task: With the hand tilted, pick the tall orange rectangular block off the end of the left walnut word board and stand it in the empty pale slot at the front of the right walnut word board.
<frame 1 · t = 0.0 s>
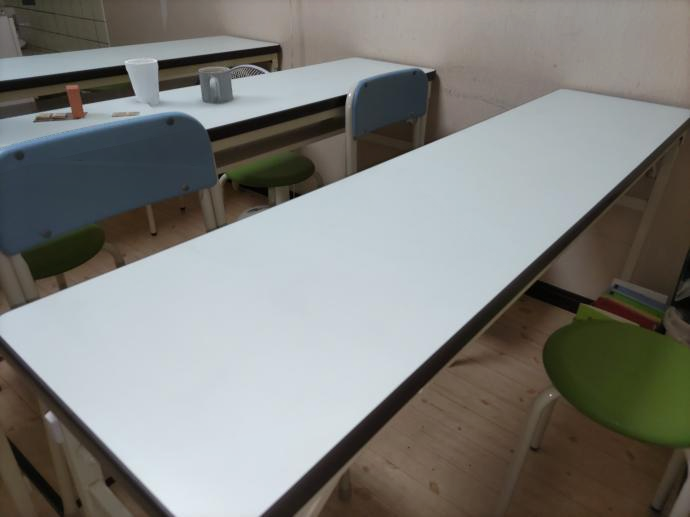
hand: (35, 2, 127), 30 cm above the table, tool pointing down, fingers open, 13 cm apart
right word: (118, 119, 148), on the table
foam cup: (149, 104, 163), on the table
orange rectangular block: (78, 115, 146), point 1 cm above the table, touching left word
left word: (62, 119, 145), on the table
coffee mug: (216, 103, 168), on the table
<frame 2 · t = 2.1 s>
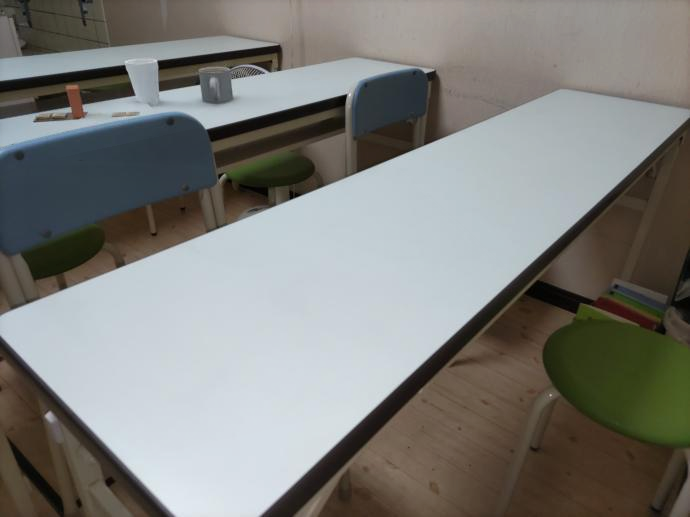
hand: (57, 23, 141), 24 cm above the table, tool tilted 45°, fingers open, 13 cm apart
nothing on the table moved.
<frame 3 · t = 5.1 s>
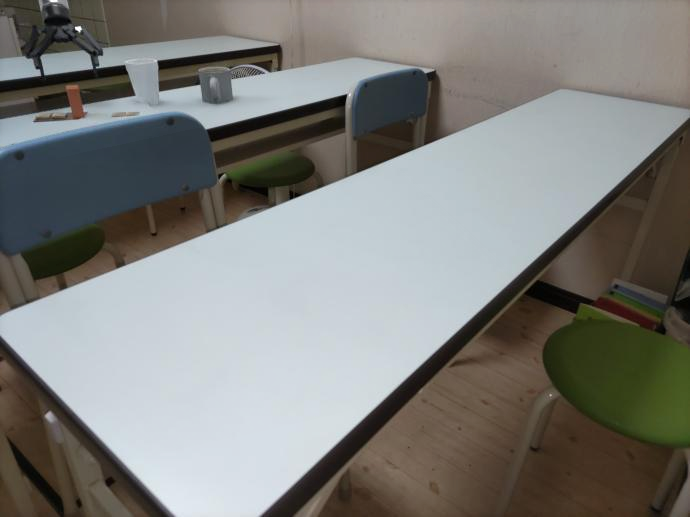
hand: (70, 77, 145), 11 cm above the table, tool tilted 45°, fingers open, 13 cm apart
nothing on the table moved.
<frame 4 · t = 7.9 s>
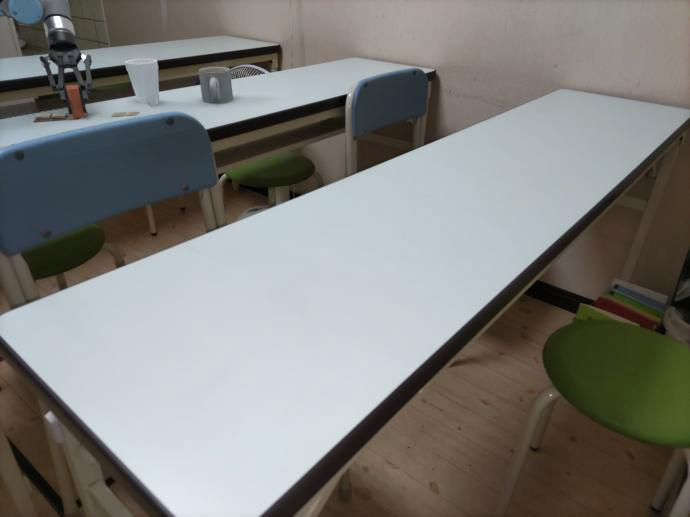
hand: (77, 110, 142), 3 cm above the table, tool tilted 45°, fingers closed on orange rectangular block, 3 cm apart
orange rectangular block: (78, 115, 146), point 1 cm above the table, touching gripper, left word
everything else where it was.
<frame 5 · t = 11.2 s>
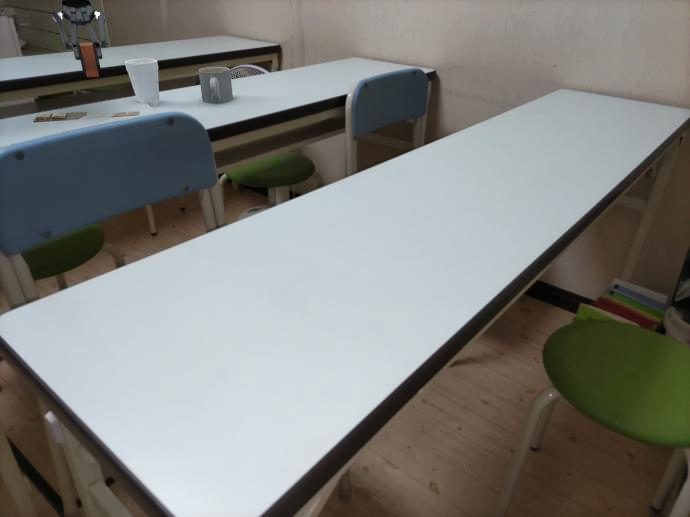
hand: (91, 68, 136), 15 cm above the table, tool tilted 45°, fingers closed on orange rectangular block, 3 cm apart
orange rectangular block: (92, 75, 140), point 12 cm above the table, touching gripper
everything else where it was.
when the fingers open (3 cm above the table, at t = 14.4 s): orange rectangular block stays where it is, resting on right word.
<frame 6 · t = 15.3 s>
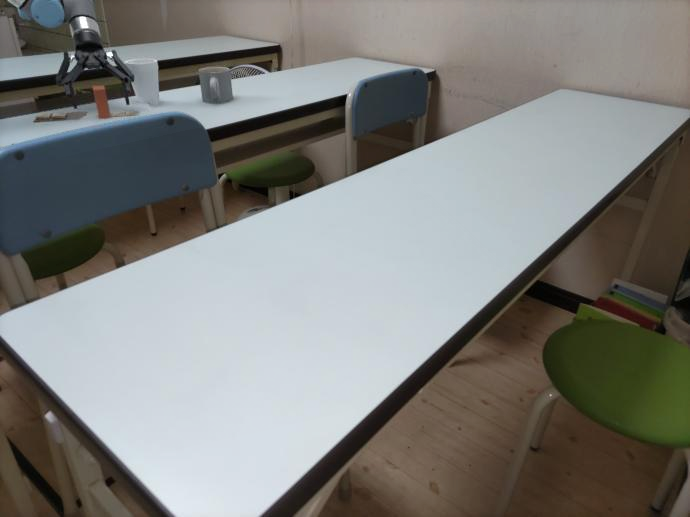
hand: (102, 104, 142), 5 cm above the table, tool tilted 45°, fingers open, 13 cm apart
orange rectangular block: (104, 116, 146), point 1 cm above the table, touching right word
everything else where it was.
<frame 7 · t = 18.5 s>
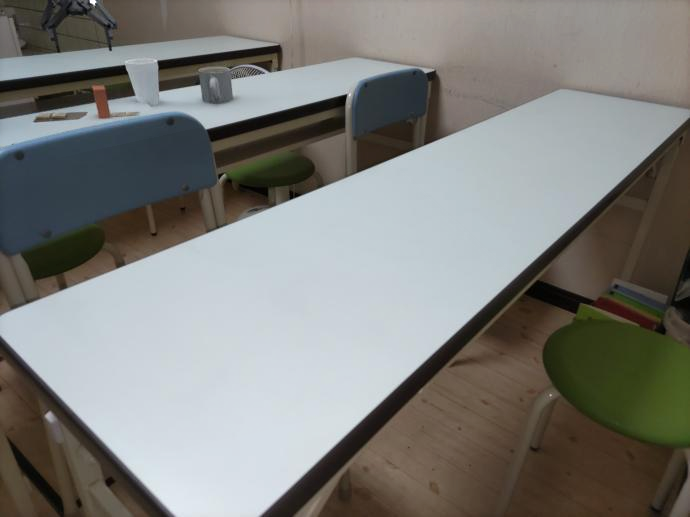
hand: (84, 49, 146), 18 cm above the table, tool tilted 45°, fingers open, 13 cm apart
nothing on the table moved.
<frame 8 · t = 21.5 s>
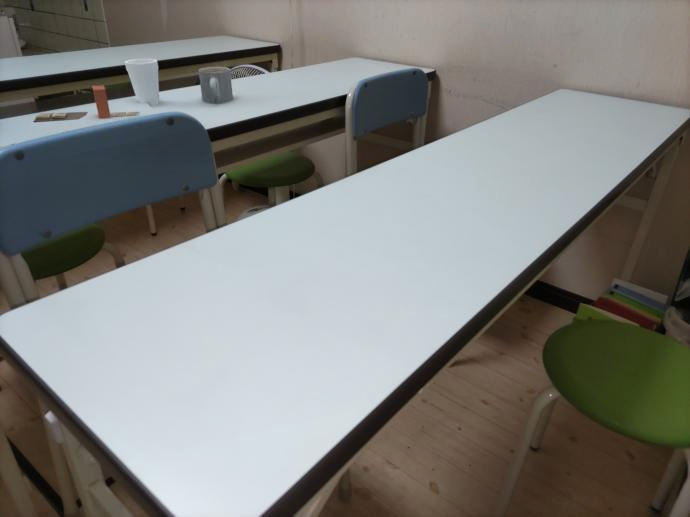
hand: (59, 7, 143), 28 cm above the table, tool tilted 45°, fingers open, 13 cm apart
nothing on the table moved.
at the end: orange rectangular block 0.1 cm from the target spot, point 1.1 cm above the table; orange rectangular block tilted 0°; the gripper is holding nothing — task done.
